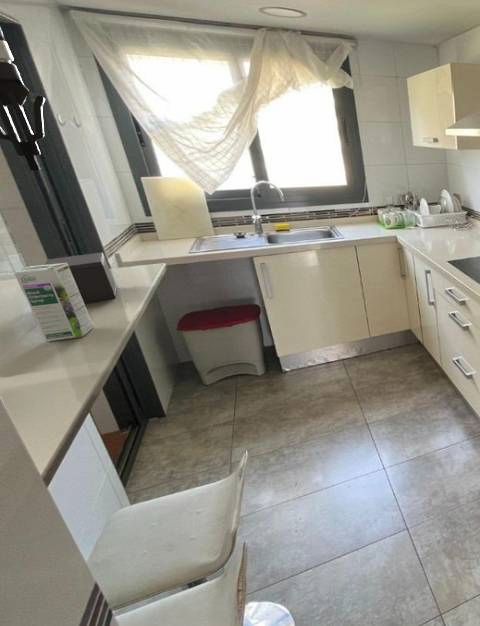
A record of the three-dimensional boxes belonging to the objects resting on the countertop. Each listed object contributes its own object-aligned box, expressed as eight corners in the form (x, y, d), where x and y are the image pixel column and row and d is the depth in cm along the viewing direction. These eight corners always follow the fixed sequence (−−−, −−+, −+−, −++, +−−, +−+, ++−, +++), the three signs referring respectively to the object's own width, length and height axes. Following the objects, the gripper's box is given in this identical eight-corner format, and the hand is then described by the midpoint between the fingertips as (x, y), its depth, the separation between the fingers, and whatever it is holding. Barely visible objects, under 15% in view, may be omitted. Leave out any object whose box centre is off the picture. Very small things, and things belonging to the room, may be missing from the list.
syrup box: (45, 342, 90) (11, 272, 85) (60, 332, 95) (29, 264, 90) (82, 337, 92) (52, 268, 87) (95, 327, 97) (67, 261, 92)
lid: (102, 265, 111) (101, 261, 110) (42, 273, 105) (40, 269, 104) (104, 255, 120) (102, 252, 119) (49, 262, 113) (47, 259, 113)
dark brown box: (115, 298, 115) (102, 264, 111) (59, 308, 108) (43, 272, 105) (116, 287, 123) (104, 255, 120) (63, 296, 117) (49, 263, 113)
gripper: (34, 65, 110) (73, 167, 119) (-50, 61, 103) (-1, 170, 111) (29, 61, 105) (71, 169, 114) (-60, 57, 97) (-7, 172, 106)
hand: (35, 169), depth 113 cm, fingers closed
